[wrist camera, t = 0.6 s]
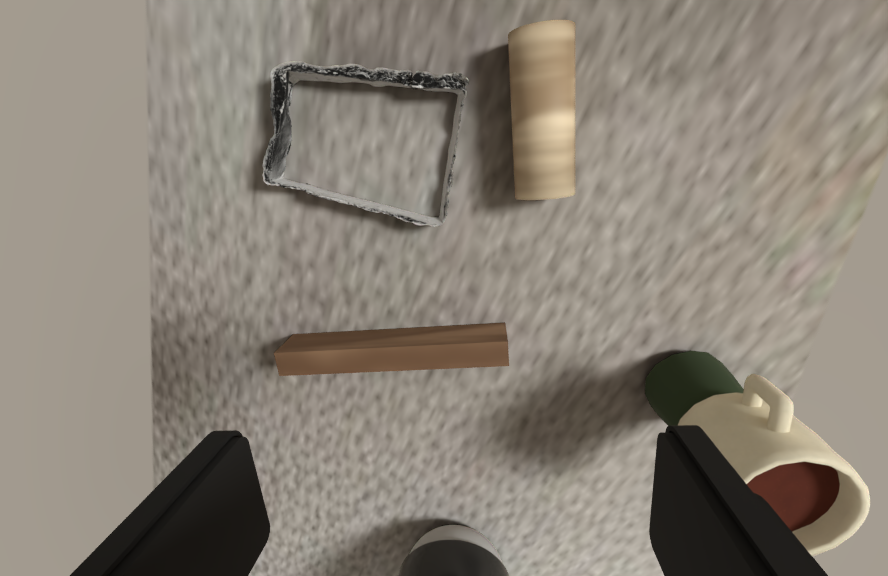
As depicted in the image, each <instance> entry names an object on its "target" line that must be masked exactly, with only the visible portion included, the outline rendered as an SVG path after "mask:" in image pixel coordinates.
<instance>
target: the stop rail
mask: <svg viewBox="0 0 888 576" xmlns="http://www.w3.org/2000/svg"><path fill="white" fill-rule="evenodd" d="M274 356H275V360H276V364H277V368H278V372H279V376H288V375H311V374H334V373H357V372H380V371H403V370H426V369H449V368H472V367H495V366H509V356H508V340H507V333H506V325H505V323H490V324H471V325H453V326H435V327H417V328H399V329H380V330H362V331H344V332H326V333H308V334H293V335H292V336H291V337H290V338H289V339H288V340H287V341H286V342H285V343H284V344H283V345H282V346H281V347H280V348H279V349H278V350H277V351H275V352H274Z"/></svg>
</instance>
